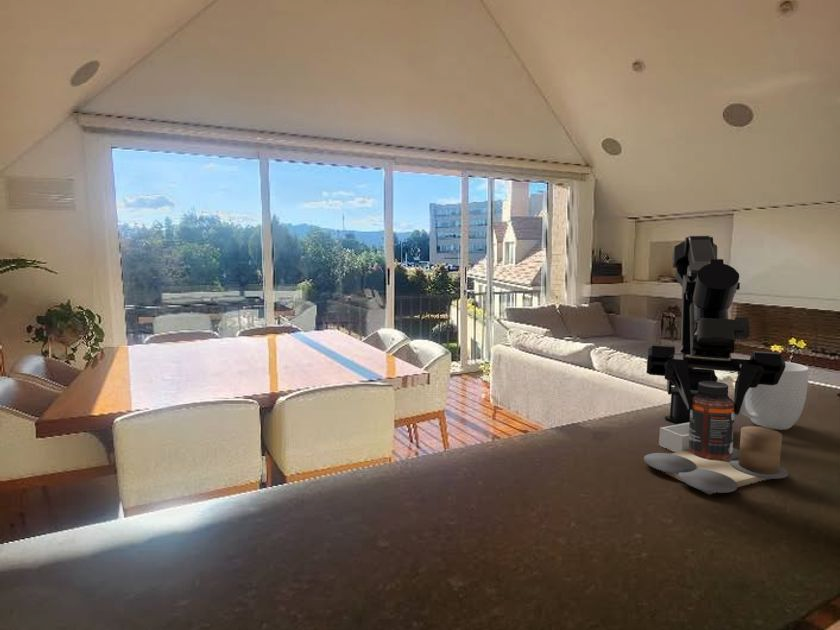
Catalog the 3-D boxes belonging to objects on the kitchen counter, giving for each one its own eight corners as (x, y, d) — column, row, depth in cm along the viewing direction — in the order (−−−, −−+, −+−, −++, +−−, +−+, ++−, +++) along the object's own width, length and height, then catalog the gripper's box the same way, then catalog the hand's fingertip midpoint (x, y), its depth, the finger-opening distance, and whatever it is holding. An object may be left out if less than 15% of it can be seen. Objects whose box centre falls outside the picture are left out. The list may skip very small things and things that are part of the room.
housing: (658, 445, 95) (659, 427, 95) (689, 439, 99) (690, 422, 98) (681, 455, 91) (682, 436, 90) (712, 448, 94) (713, 430, 94)
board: (633, 463, 87) (635, 423, 86) (713, 446, 95) (716, 409, 94) (712, 503, 73) (715, 456, 73) (798, 479, 81) (803, 436, 80)
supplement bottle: (741, 459, 76) (746, 386, 75) (711, 464, 74) (716, 390, 73) (707, 445, 82) (711, 377, 80) (679, 450, 80) (682, 381, 79)
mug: (762, 438, 99) (767, 373, 97) (714, 420, 109) (718, 362, 108) (816, 430, 103) (822, 368, 102) (765, 414, 114) (770, 357, 112)
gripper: (651, 296, 82) (648, 377, 74) (788, 300, 75) (803, 391, 66) (647, 335, 90) (644, 412, 82) (771, 342, 83) (782, 428, 75)
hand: (713, 411), depth 76 cm, fingers closed on supplement bottle, 6 cm apart
